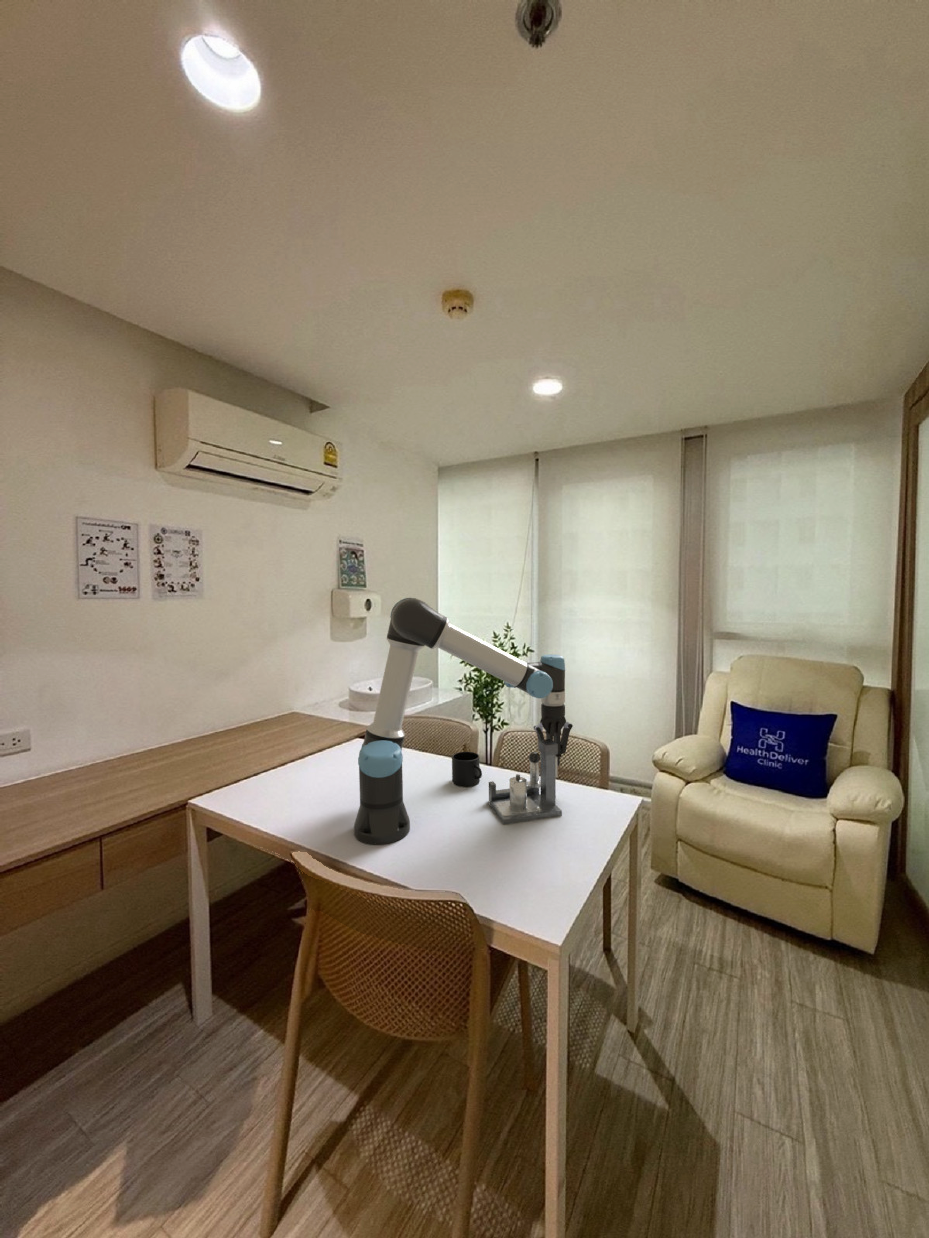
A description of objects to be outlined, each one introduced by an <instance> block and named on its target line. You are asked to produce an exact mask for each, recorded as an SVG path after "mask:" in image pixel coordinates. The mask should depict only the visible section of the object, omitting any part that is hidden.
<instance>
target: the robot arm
mask: <svg viewBox="0 0 929 1238" xmlns="http://www.w3.org/2000/svg"><path fill="white" fill-rule="evenodd" d="M389 617H390V620H389V625H388V629H387V634H386V641H387V642H388V644H389V649H388V653H387V654H388V655H387V658H386V662H385V667H384V673H383V677H382V681H381V686H380V690H379V693H378V694H379V696H378V700H377V704H376V709H375V713H374V719H373V722H372V723H370V724H369V725H367V726H366V731H365V734H364V740H363V742H362V744H361V747H360V750H359V752H358V753H359V754H358V757H357V758H358V759H357V760H358V762H357V763H358V773H359V775H358V777H359V778H358V779H359V807H358V812H357V814H356V818H355V821H354V823H353V824H354V825H353V832H354V834H353V835H354V837H355V838H356V840H357V841H359V842H361V843H364V844H366V845H367V844H368V845H387V844H391V843H395V842H397V841H400V840H401V839H403V838H405V837H406V836H407V835H408V834H409V833H410V831H411V823H410V822H411V821H410V817H409V814H408V811H407V808H406V806H405V803H404V795H403V794H404V792H403V789H404V787H403V786H404V785H403V783H404V781H403V760H404V759H403V758H404V756H403V753H402V751H403V746H404V741H405V737H406V734H405V731H404V730H403V728H402V727H403V721H404V718H405V713H406V710H407V709H406V708H407V706H408V705H407V704H408V699H409V695H410V691H411V690H410V689H411V686H412V682H413V681H412V680H413V677H414V671H415V667H416V664H417V658H418V654H419V651H420V650H422V649H424V648H425V647H428V648H429V649H431V650H433V649H436V648H437V649H440V650H442V652H443V651H444V652H445V653H448V654H450V655H451V656H452V657H453V656H454V657H456V658H457V659H459V660H461V661H464V662H465V663H467V664H470V665H472V666H473V667H475V668H478V669H479V670H482V671H484V672H485V673H486V674H487V673H488V674H490V675H492V676H493V677H495V678H497V679H500V680H501V681H503V683H504V685H505V687H507V688H514V689H519V690H520V691H523V692H524V693H527V694H528V695H529V696H531V697H533V698H536V699H540V702H541V705H540V713H541V718H540V721H539V724H537V725H534V726H533V730H534V731H535V733H536V736H537V740H547V739H551V740H552V741H554V742H555V743H557V744H558V754H555V778H558V766H560V765H561V761H560V760H561V758H562V756H563V755H564V754H566V751H567V747H568V743H569V739H570V738H569V737H570V732H571V730H572V729H573V727H574V726H573V724H572V723H571V722H568V721H567V719H566V717H565V716H566V705H565V702H566V685H565V684H566V663H565V658H564V656H563V655H560V654H553V653H552V654H543V655H541V656H540V660H539V661H538V662H537V661H536V662H535V661H534V662H526V661H523V660H521V659H519V658H518V657H515V656H514V655H512V654H510V653H508V652H506V651H504V650H502V649H501V648H499V647H496V646H494V645H492V644H491V643H489V642H487V641H486V640H483V639H482V638H479V637H478V636H475V635H473V634H471V633H470V632H468V631H466V630H464V629H462V628H460V627H459V626H456V625H454V624H453V623H451V622H450V620H449V617H447V616H445V615H443V614H441V613H440V612H438V611H436V610H435V609H434V608H432V607H431V606H429V604H427V603H426V602H425V601H423V600H421V599H418V598H415V597H405V598H403V599H400V600H399V601H398V602H396V603H395V605H394V606H393V607H392V609H391V611H390V616H389ZM543 731H545V735H544V733H543Z"/></svg>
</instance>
